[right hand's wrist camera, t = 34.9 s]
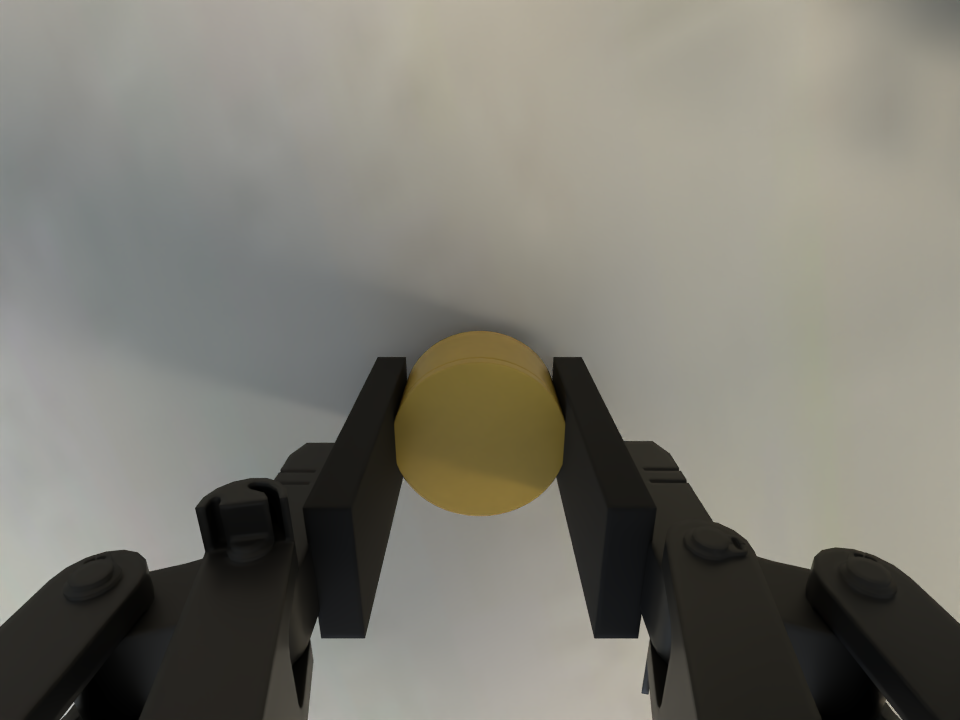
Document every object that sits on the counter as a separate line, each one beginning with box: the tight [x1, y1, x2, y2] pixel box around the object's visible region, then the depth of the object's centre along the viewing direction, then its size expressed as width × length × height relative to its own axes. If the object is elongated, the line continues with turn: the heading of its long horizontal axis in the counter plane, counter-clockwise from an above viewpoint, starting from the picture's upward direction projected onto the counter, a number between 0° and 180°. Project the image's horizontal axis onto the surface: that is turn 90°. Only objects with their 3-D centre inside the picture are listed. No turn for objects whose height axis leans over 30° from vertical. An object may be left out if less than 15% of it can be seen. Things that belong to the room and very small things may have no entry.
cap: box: [394, 331, 565, 516], centre depth 14 cm, size 4×4×2 cm
